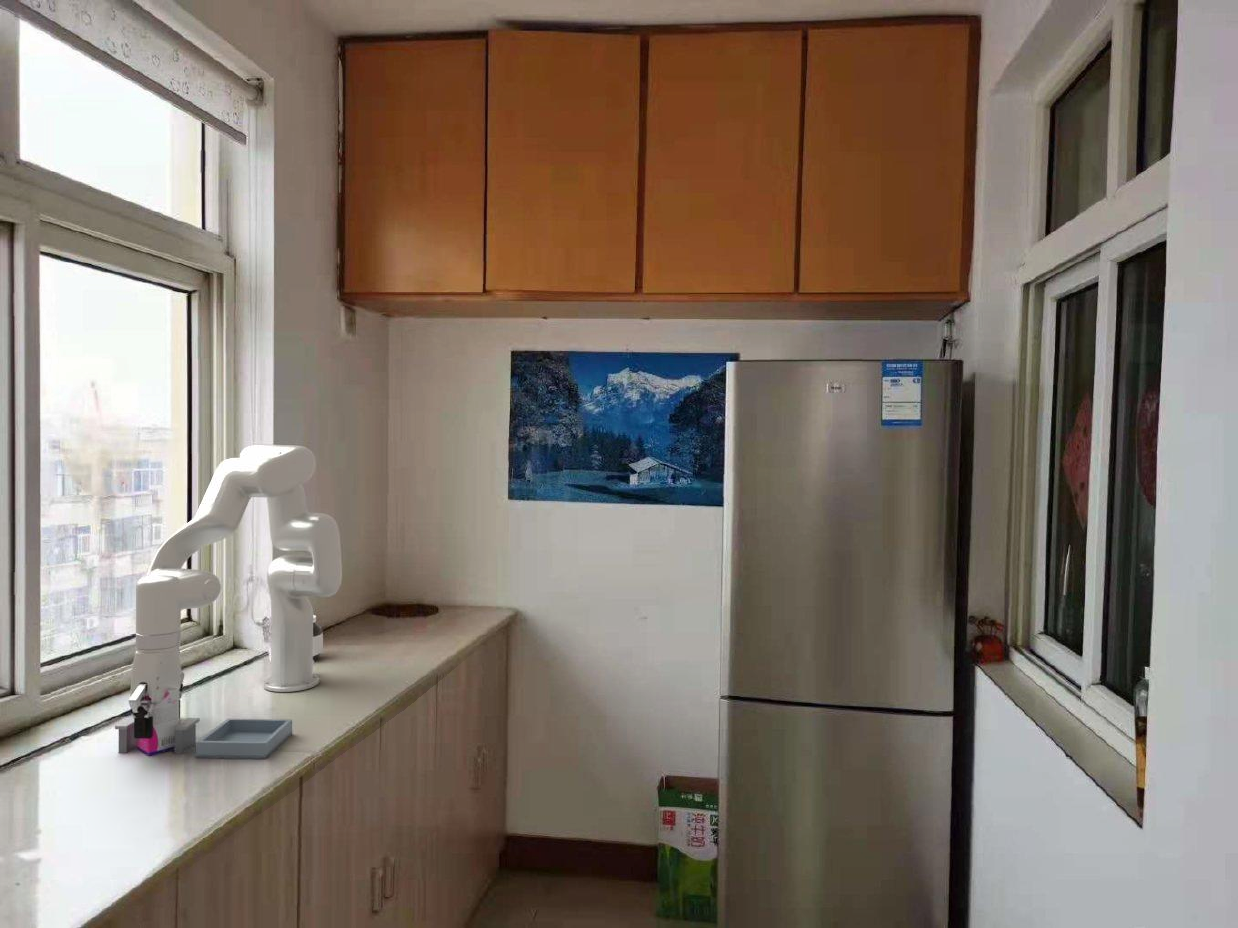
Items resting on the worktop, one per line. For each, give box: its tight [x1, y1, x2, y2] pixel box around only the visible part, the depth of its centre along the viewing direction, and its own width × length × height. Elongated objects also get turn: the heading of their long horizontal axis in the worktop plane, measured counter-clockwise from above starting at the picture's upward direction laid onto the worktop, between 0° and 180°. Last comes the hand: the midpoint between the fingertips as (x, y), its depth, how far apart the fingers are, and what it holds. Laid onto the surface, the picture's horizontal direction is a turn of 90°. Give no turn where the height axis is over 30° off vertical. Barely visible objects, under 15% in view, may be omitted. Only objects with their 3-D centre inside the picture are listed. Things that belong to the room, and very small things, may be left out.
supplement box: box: [136, 688, 180, 757], centre depth 156 cm, size 6×6×12 cm
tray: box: [195, 717, 293, 760], centre depth 159 cm, size 13×13×3 cm
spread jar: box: [268, 614, 324, 662], centre depth 218 cm, size 12×11×12 cm
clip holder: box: [114, 716, 201, 755], centre depth 156 cm, size 5×13×5 cm, turn 91°
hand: (157, 728), depth 156 cm, fingers open, 9 cm apart
